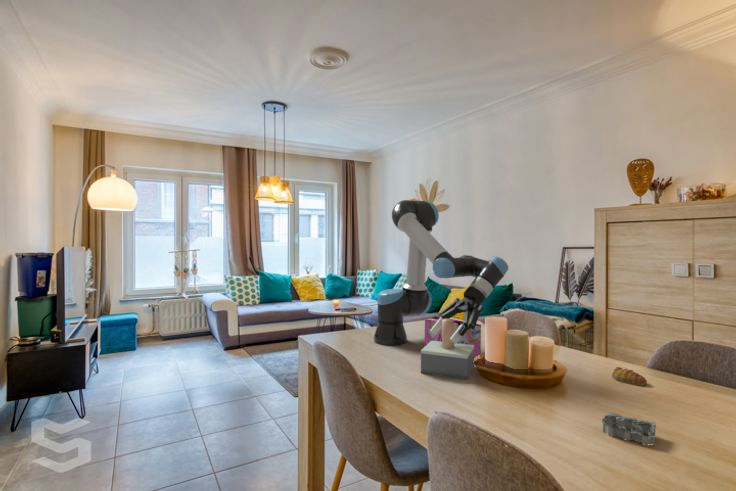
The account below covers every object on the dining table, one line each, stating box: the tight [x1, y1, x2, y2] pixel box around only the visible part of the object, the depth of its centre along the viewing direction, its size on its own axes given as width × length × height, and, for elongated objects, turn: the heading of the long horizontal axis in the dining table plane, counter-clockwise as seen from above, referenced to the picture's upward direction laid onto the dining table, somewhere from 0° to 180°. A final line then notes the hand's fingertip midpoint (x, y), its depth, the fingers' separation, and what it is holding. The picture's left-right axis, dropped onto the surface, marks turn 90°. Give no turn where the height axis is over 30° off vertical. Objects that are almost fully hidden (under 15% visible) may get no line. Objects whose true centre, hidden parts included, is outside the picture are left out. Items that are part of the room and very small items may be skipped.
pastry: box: [611, 366, 648, 387], centre depth 128 cm, size 9×7×4 cm
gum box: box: [424, 315, 482, 358], centre depth 158 cm, size 24×8×14 cm, turn 42°
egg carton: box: [601, 412, 657, 446], centre depth 93 cm, size 11×8×4 cm
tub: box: [420, 349, 475, 380], centre depth 140 cm, size 14×16×7 cm
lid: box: [420, 318, 474, 359], centre depth 139 cm, size 14×16×11 cm
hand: (442, 337), depth 138 cm, fingers open, 12 cm apart
